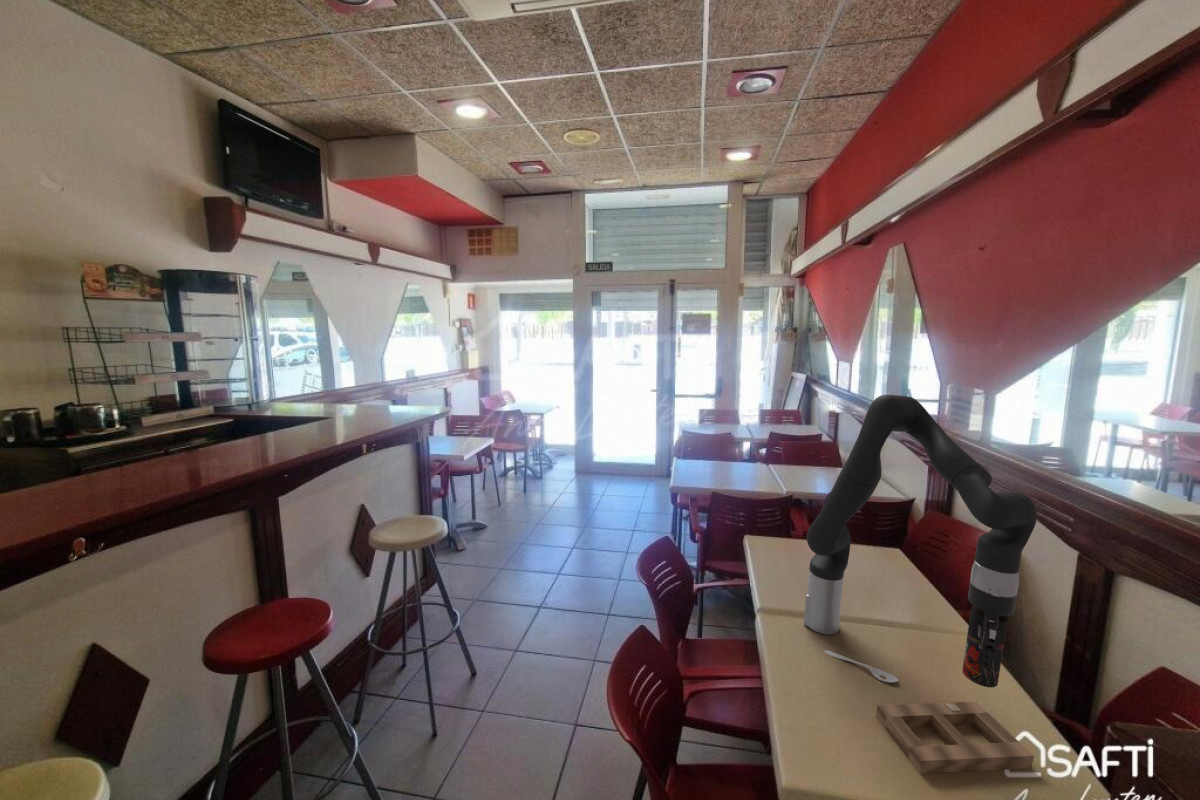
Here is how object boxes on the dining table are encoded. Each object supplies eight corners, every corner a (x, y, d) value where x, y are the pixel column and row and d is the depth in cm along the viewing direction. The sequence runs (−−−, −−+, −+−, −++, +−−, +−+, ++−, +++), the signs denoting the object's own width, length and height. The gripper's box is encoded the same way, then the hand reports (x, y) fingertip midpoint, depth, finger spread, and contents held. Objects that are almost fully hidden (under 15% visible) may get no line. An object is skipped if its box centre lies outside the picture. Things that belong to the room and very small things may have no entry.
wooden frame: (919, 773, 95) (921, 759, 94) (875, 716, 109) (877, 704, 108) (1031, 768, 96) (1034, 754, 96) (974, 712, 110) (976, 700, 109)
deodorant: (1004, 689, 97) (1014, 623, 95) (971, 685, 98) (981, 620, 96) (987, 669, 103) (996, 606, 100) (956, 665, 104) (965, 603, 101)
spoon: (896, 690, 117) (896, 684, 117) (811, 650, 131) (812, 645, 131) (900, 681, 120) (900, 675, 120) (816, 643, 134) (817, 638, 134)
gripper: (967, 565, 105) (958, 633, 108) (973, 595, 93) (962, 671, 96) (1011, 575, 101) (1000, 645, 103) (1023, 608, 89) (1011, 686, 92)
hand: (982, 657), depth 100 cm, fingers closed on deodorant, 6 cm apart
